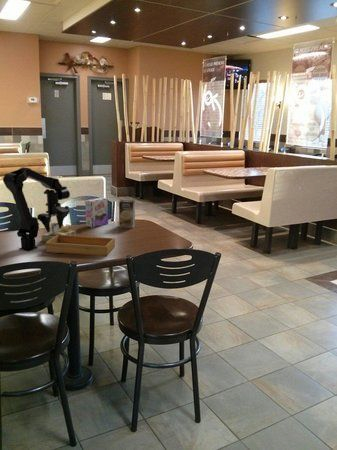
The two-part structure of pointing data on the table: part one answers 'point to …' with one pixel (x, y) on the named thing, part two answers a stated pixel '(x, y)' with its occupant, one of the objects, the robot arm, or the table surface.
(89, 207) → the candy box
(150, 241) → the table surface
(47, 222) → the robot arm
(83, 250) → the tray
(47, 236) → the socket block
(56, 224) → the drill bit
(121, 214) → the coffee box
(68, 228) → the drift key
